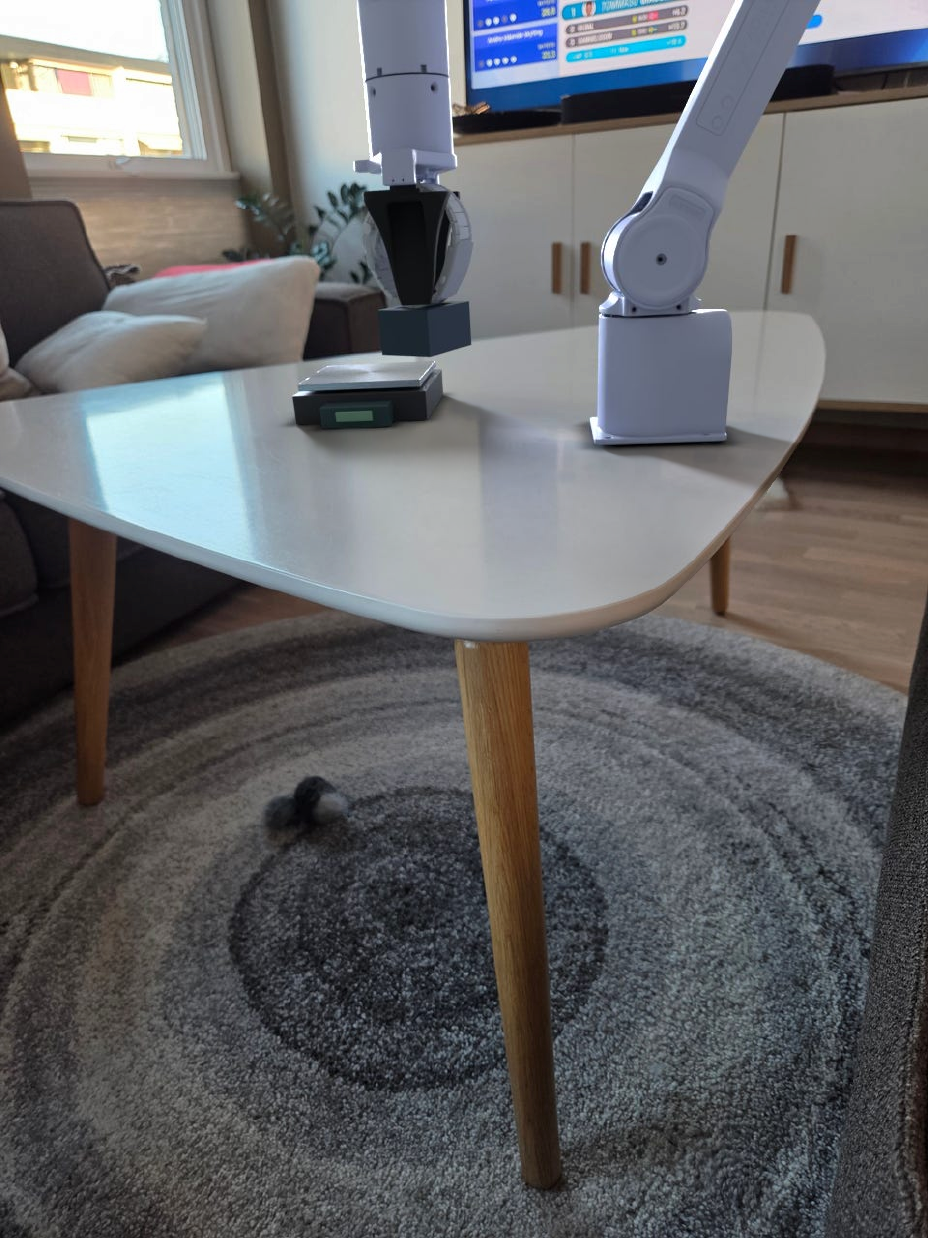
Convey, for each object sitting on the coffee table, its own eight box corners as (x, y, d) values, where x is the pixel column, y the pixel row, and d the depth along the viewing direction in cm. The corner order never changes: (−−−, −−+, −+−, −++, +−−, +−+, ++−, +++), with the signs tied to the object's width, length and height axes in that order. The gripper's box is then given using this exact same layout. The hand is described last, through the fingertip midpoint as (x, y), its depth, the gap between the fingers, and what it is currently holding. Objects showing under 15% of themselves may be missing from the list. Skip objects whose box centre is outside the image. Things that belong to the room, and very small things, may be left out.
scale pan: (435, 366, 81) (435, 360, 81) (420, 386, 72) (419, 379, 71) (328, 371, 83) (327, 365, 82) (298, 391, 73) (297, 384, 72)
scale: (443, 394, 83) (441, 368, 82) (423, 425, 70) (421, 396, 69) (328, 398, 84) (324, 373, 83) (287, 430, 71) (283, 401, 70)
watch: (404, 342, 65) (390, 186, 60) (491, 345, 61) (484, 178, 56) (360, 354, 61) (341, 188, 56) (450, 358, 57) (439, 179, 52)
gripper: (368, 100, 61) (385, 295, 67) (321, 67, 48) (348, 312, 54) (461, 93, 60) (471, 291, 66) (441, 57, 47) (454, 307, 53)
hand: (422, 300), depth 60 cm, fingers closed on watch, 6 cm apart
